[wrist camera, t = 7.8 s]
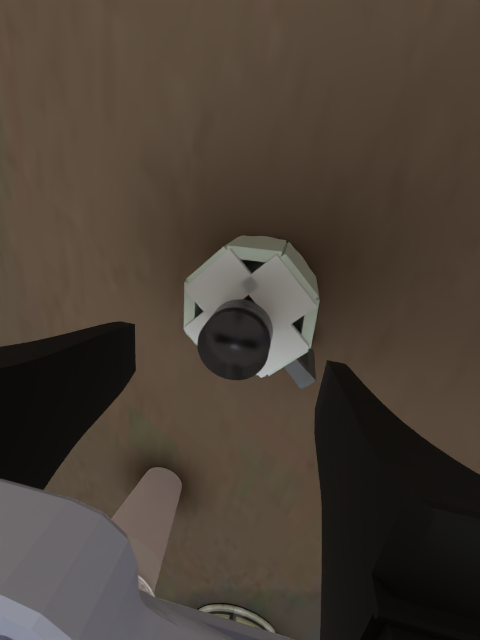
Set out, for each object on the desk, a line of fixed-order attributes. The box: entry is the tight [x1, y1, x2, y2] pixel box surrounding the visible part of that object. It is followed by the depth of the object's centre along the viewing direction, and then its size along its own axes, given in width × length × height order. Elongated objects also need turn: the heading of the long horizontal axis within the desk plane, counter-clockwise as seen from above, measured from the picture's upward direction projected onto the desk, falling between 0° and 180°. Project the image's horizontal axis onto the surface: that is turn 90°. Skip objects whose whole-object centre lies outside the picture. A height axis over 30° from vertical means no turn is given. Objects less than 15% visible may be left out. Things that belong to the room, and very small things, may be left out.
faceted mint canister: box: [183, 235, 320, 389], centre depth 19 cm, size 9×7×5 cm
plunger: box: [197, 259, 273, 380], centre depth 17 cm, size 5×5×8 cm
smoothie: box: [111, 467, 182, 597], centre depth 23 cm, size 6×6×14 cm
